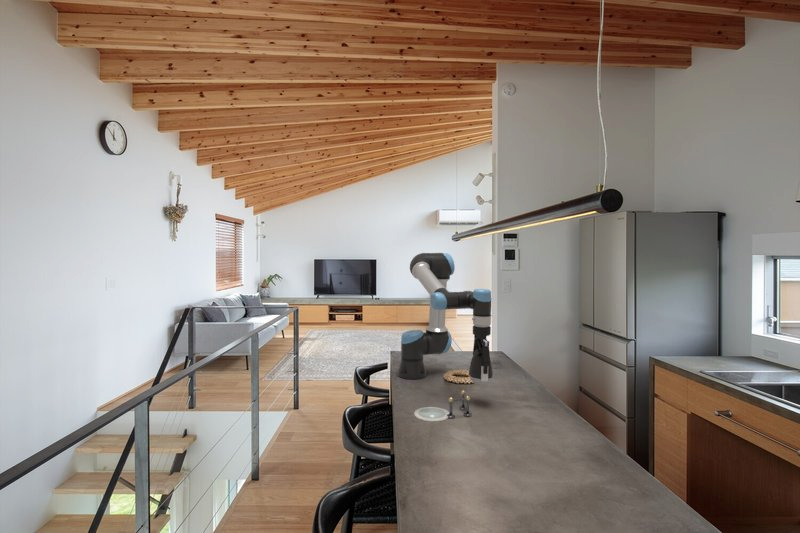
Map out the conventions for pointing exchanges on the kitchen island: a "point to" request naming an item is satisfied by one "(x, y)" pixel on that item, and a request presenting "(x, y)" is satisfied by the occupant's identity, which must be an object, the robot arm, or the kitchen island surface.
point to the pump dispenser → (479, 369)
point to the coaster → (431, 414)
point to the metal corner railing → (463, 399)
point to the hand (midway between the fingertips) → (480, 376)
